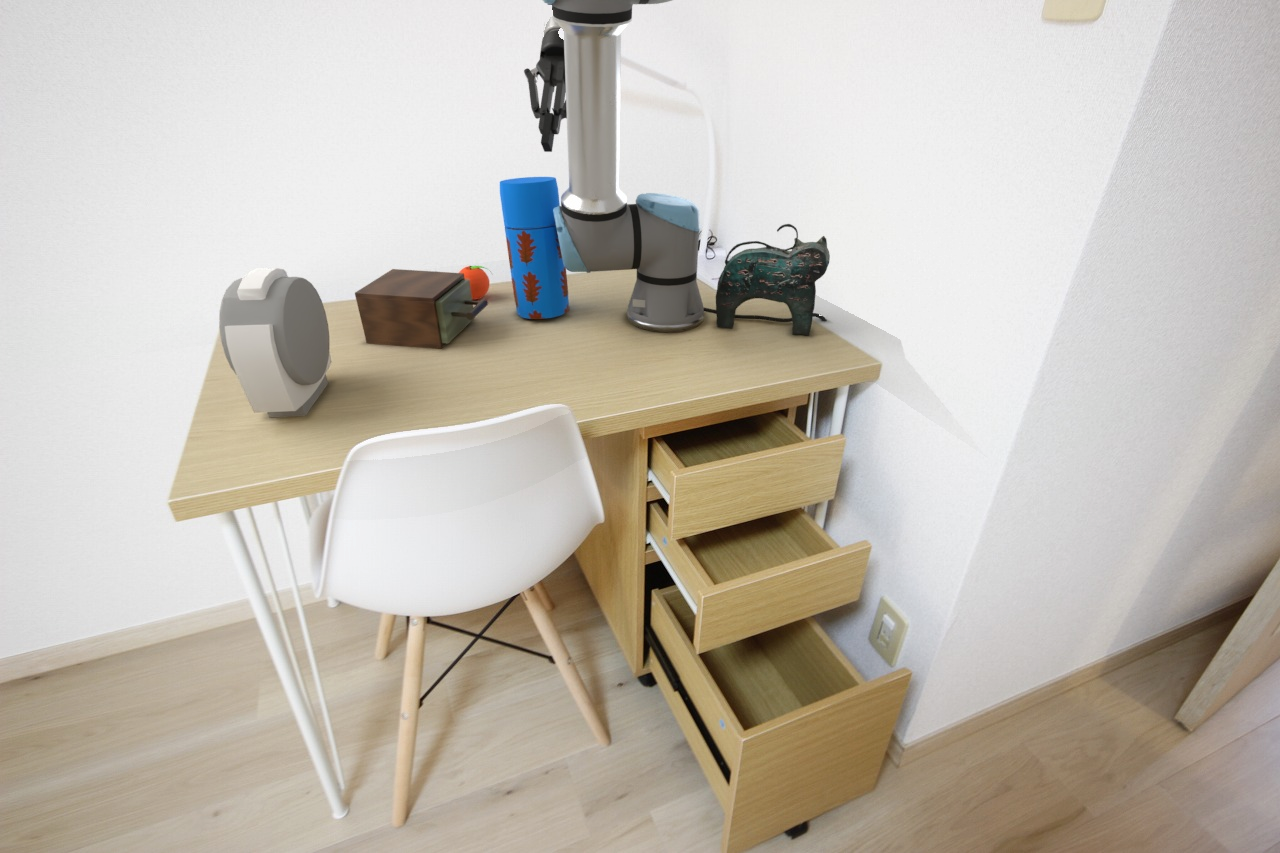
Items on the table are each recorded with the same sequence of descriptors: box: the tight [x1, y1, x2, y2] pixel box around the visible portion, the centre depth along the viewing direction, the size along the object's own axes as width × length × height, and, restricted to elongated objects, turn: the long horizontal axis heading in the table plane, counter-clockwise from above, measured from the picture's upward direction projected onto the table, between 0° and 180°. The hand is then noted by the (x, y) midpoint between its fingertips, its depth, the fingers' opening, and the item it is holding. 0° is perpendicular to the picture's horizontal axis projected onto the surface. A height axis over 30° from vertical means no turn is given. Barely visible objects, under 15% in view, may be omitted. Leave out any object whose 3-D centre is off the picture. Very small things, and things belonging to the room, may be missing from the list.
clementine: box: [458, 265, 494, 301], centre depth 136 cm, size 8×7×7 cm
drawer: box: [435, 279, 489, 344], centre depth 120 cm, size 18×12×8 cm
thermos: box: [499, 176, 570, 320], centre depth 125 cm, size 11×11×25 cm
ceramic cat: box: [715, 223, 831, 337], centre depth 119 cm, size 20×6×20 cm, turn 77°
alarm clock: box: [218, 267, 332, 418], centre depth 95 cm, size 18×8×20 cm, turn 5°
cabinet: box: [354, 268, 465, 350], centre depth 120 cm, size 15×14×10 cm
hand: (546, 147), depth 124 cm, fingers closed
